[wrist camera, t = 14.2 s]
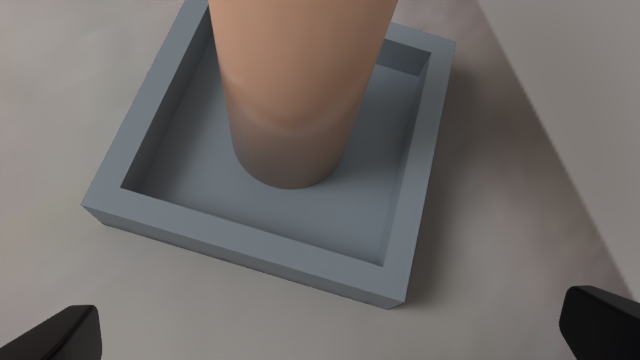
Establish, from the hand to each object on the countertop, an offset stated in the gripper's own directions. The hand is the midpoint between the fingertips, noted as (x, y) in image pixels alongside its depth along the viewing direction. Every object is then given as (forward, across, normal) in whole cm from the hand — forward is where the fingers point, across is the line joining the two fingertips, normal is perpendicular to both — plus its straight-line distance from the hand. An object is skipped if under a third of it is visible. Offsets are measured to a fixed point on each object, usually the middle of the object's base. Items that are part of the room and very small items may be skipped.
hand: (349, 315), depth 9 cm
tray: (+13, 0, 0) cm, 13 cm away
